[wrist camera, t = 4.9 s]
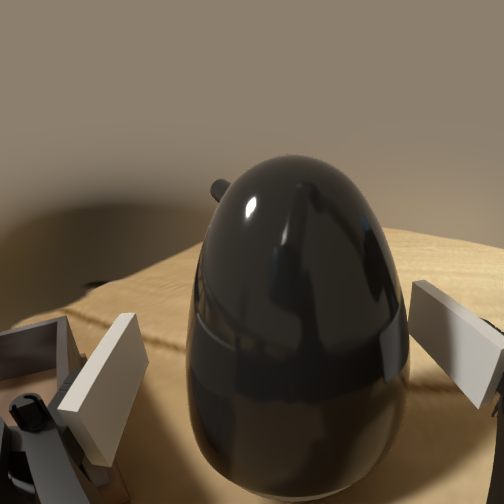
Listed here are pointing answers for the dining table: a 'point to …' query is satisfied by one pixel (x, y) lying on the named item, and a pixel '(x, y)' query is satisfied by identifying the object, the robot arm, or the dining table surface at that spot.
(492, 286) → the dining table surface
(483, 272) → the dining table surface
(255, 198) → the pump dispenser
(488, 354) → the robot arm
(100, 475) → the holder
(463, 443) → the dining table surface
